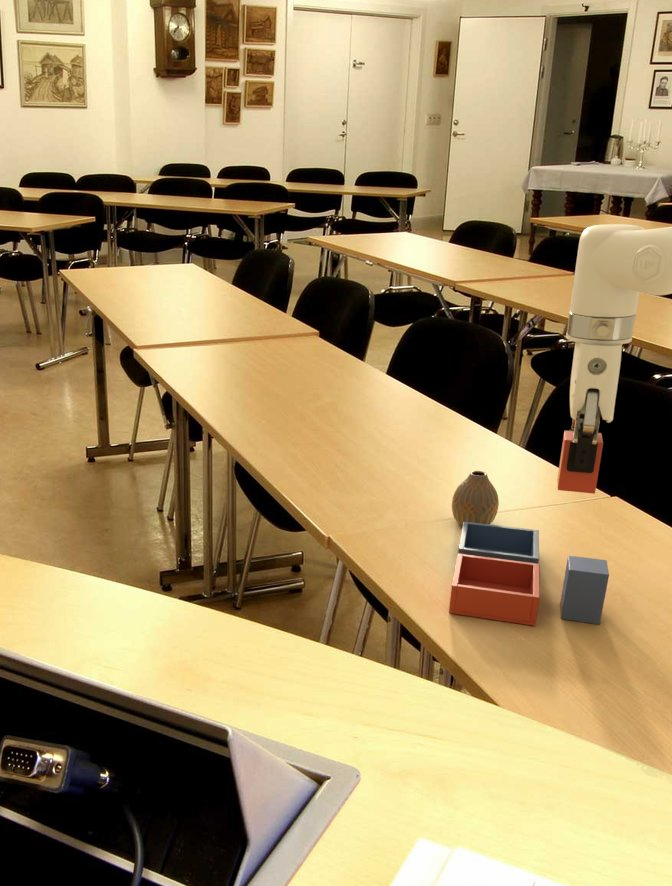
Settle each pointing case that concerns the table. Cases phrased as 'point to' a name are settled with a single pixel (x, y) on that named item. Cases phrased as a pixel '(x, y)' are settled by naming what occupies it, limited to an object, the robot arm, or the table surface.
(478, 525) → the blue bin
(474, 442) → the table surface
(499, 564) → the red bin
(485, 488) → the vase
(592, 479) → the red block
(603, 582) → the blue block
